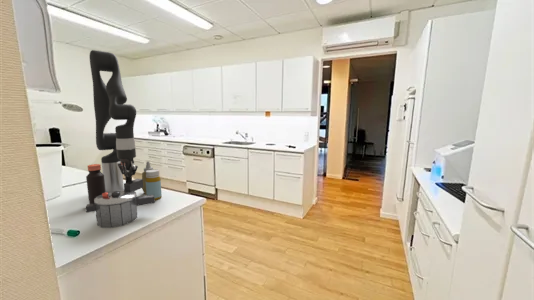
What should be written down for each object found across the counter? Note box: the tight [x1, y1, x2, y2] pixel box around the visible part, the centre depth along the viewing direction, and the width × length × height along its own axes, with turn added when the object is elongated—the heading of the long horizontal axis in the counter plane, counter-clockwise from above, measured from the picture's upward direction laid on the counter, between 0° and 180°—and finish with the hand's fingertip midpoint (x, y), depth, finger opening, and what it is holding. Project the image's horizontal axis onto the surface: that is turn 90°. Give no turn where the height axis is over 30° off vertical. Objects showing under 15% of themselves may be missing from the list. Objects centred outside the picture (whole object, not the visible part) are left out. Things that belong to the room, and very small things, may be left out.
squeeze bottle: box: [141, 161, 154, 195], centre depth 128 cm, size 8×8×18 cm
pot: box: [85, 194, 156, 229], centre depth 97 cm, size 24×14×9 cm, turn 119°
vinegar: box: [85, 163, 106, 204], centre depth 110 cm, size 7×7×20 cm
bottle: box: [146, 168, 162, 201], centre depth 120 cm, size 7×7×15 cm
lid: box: [94, 178, 143, 206], centre depth 98 cm, size 21×15×5 cm
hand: (129, 183), depth 109 cm, fingers closed
